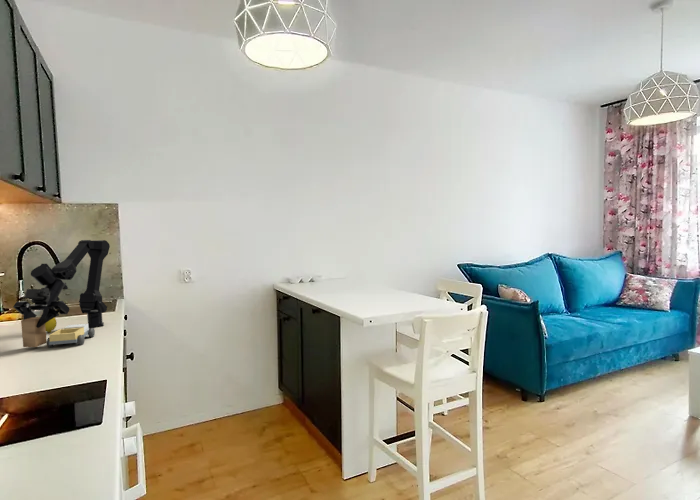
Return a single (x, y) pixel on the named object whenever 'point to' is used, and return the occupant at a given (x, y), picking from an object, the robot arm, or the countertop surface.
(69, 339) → the toy chassis
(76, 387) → the countertop surface
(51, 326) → the lemon
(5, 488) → the countertop surface
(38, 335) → the walnut block
